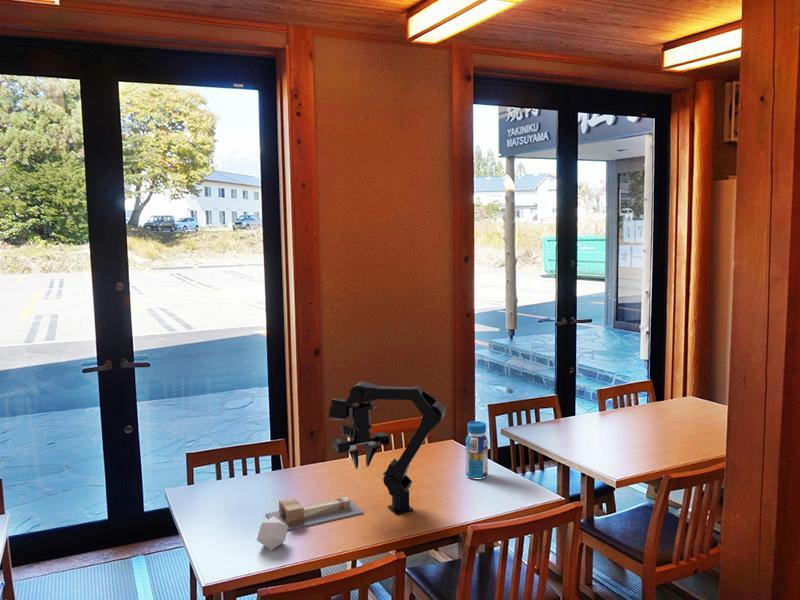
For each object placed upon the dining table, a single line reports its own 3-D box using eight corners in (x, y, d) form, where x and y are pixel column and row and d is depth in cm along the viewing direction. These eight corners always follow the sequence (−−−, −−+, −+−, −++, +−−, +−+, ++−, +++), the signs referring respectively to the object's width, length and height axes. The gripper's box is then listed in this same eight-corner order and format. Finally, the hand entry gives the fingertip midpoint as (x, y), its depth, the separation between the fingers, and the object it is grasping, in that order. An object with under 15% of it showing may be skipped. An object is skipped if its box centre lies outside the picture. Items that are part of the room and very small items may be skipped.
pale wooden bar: (350, 508, 214) (350, 500, 214) (297, 520, 206) (297, 511, 206) (346, 505, 217) (346, 496, 217) (294, 516, 209) (294, 508, 208)
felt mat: (363, 513, 212) (363, 512, 211) (278, 532, 199) (278, 531, 199) (346, 498, 224) (346, 496, 224) (265, 515, 211) (265, 513, 211)
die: (291, 551, 189) (294, 516, 194) (270, 546, 183) (273, 511, 188) (271, 554, 193) (274, 520, 198) (249, 550, 187) (253, 515, 192)
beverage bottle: (460, 474, 244) (460, 422, 242) (479, 470, 248) (479, 419, 246) (473, 482, 237) (473, 428, 235) (492, 478, 241) (493, 424, 239)
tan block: (304, 523, 204) (303, 507, 203) (288, 526, 201) (288, 511, 201) (294, 512, 212) (294, 497, 211) (279, 515, 210) (278, 500, 209)
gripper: (376, 411, 226) (376, 455, 228) (325, 419, 218) (326, 464, 219) (390, 419, 217) (391, 465, 218) (338, 427, 208) (339, 475, 210)
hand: (361, 467), depth 217 cm, fingers open, 4 cm apart
